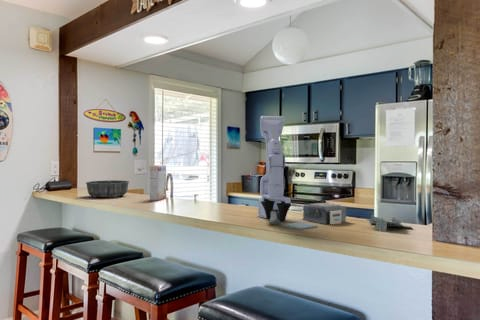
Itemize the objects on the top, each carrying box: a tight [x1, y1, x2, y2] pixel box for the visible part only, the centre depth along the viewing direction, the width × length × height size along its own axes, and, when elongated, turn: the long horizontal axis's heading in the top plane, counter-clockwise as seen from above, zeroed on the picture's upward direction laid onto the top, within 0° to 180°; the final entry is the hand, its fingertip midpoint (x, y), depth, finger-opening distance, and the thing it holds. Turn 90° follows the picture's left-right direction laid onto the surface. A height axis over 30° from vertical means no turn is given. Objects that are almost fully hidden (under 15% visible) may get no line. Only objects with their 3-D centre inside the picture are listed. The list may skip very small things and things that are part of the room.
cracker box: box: [149, 164, 167, 202], centre depth 220 cm, size 14×6×21 cm, turn 172°
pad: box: [282, 221, 318, 231], centre depth 134 cm, size 9×9×1 cm
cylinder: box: [269, 209, 282, 226], centre depth 139 cm, size 4×4×6 cm
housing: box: [302, 202, 347, 225], centre depth 148 cm, size 12×13×7 cm
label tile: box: [329, 210, 342, 225], centre depth 141 cm, size 1×6×5 cm, turn 126°
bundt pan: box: [85, 179, 130, 198], centre depth 234 cm, size 26×26×10 cm
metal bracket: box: [366, 214, 413, 233], centre depth 133 cm, size 14×6×15 cm
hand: (275, 220), depth 139 cm, fingers open, 7 cm apart
